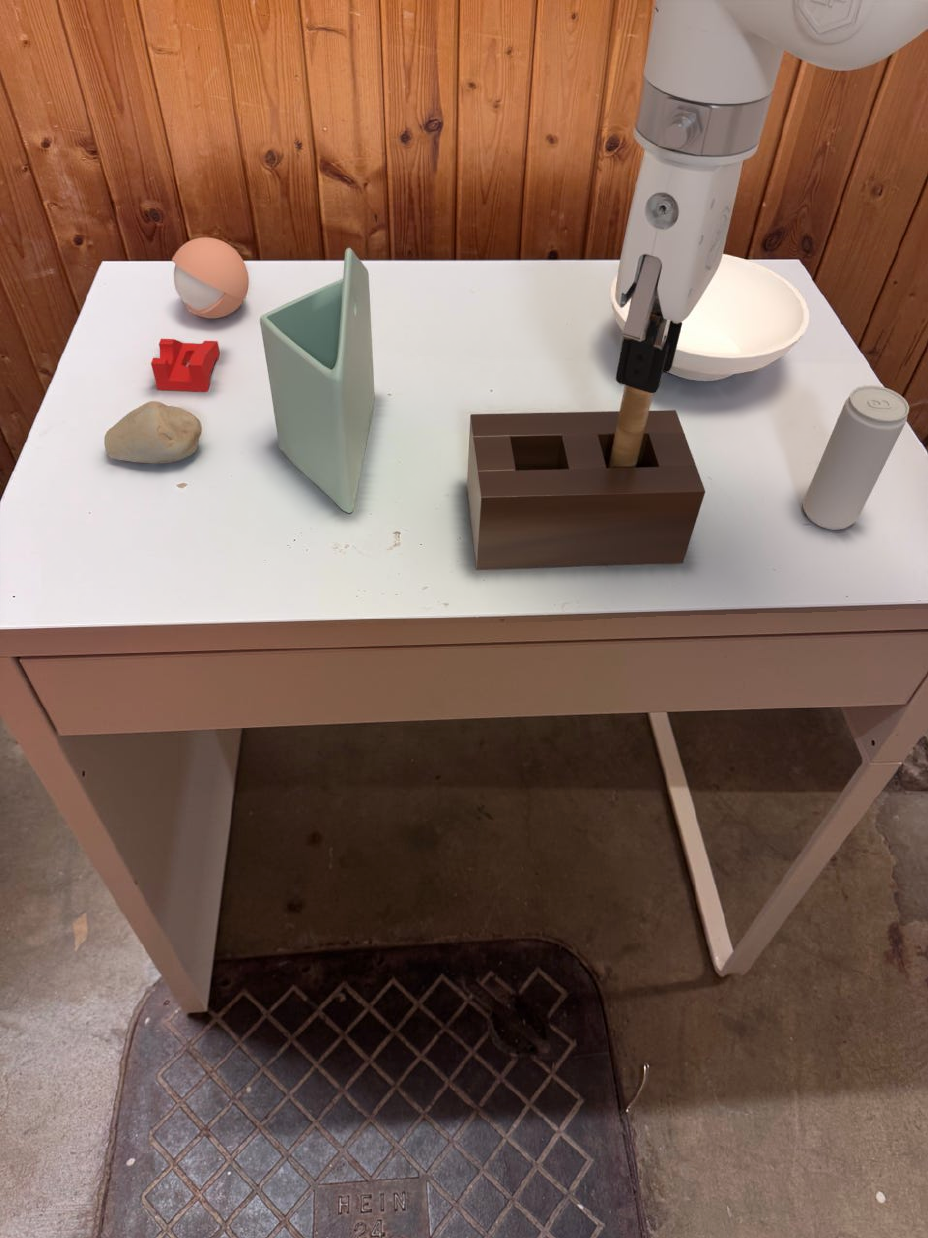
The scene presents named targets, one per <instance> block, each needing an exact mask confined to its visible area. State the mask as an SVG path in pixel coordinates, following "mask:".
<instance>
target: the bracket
mask: <svg viewBox="0 0 928 1238" xmlns="http://www.w3.org/2000/svg"><path fill="white" fill-rule="evenodd" d="M158 346H159V357H152V360H151V362H150V366H151V369H152V374H153V377H154V381H155V384H156V389H157V391H178V392H179V391H180V392H200V393H201V392H204V393H205V392H206V393H207V392H208V391H209V389H210V385H211V382H210V381H211V380H210V379H211V374H212V373H213V372H212V371H213V369H214V365H215V362H218V361H219V358H220V354H221V352H220V348H219V342H218V340H203V341H202V342H201V343H195V342H193V343H192V342H182V341H179V340H177V339H175V338H160V339H159V343H158Z"/></svg>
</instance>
